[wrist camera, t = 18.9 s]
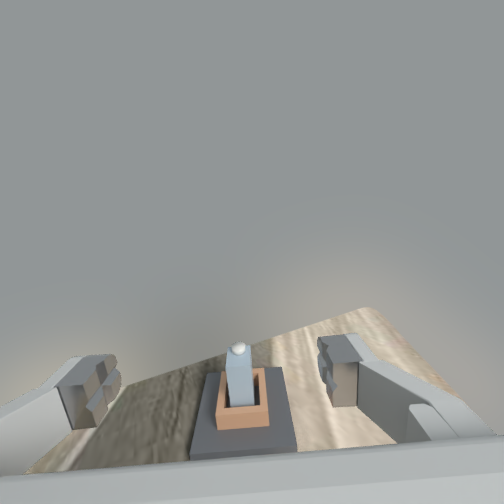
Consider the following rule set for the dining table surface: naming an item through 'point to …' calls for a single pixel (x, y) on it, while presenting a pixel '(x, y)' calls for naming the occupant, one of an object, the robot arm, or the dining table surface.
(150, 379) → the dining table surface
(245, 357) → the light blue tall block
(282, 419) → the plate
